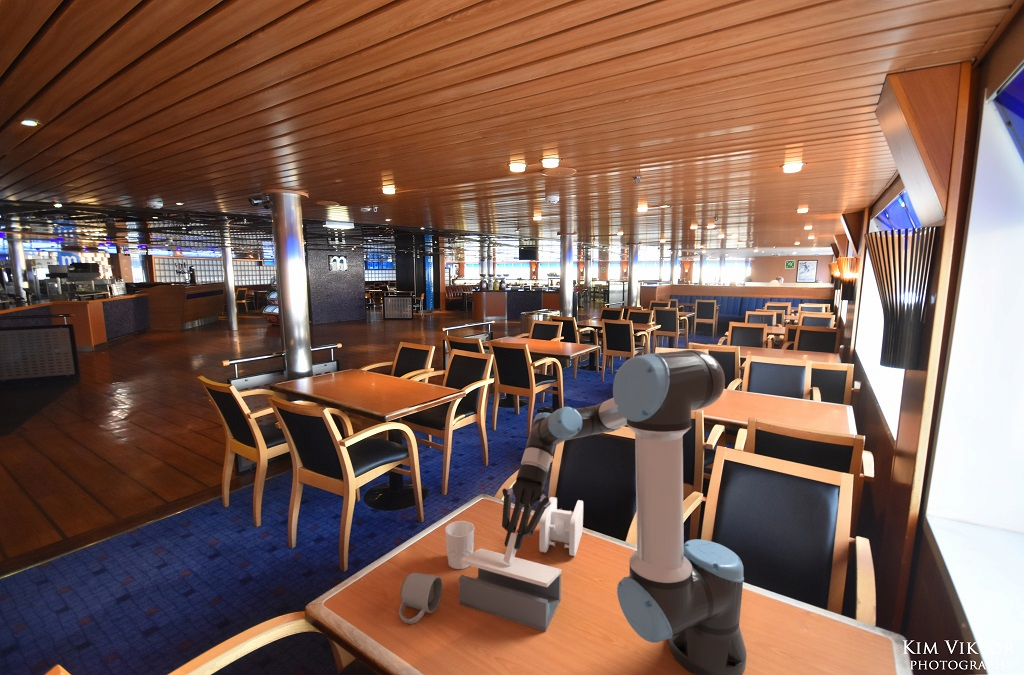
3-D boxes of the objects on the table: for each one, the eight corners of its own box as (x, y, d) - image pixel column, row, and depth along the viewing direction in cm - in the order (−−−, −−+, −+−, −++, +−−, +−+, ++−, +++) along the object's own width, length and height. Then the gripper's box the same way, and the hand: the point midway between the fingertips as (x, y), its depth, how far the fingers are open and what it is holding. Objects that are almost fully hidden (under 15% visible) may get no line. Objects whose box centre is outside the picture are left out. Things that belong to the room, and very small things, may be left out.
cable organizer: (574, 563, 130) (575, 523, 128) (537, 556, 133) (537, 517, 132) (583, 534, 144) (584, 498, 143) (549, 528, 147) (549, 493, 146)
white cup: (470, 572, 126) (469, 537, 125) (442, 569, 127) (441, 534, 126) (477, 555, 134) (477, 522, 132) (450, 552, 135) (450, 519, 134)
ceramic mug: (414, 591, 119) (413, 563, 118) (443, 598, 116) (442, 570, 115) (390, 621, 109) (389, 591, 108) (422, 630, 106) (420, 599, 105)
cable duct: (560, 600, 116) (561, 574, 115) (545, 631, 106) (546, 603, 105) (480, 576, 124) (480, 552, 123) (459, 604, 114) (459, 577, 113)
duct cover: (561, 572, 115) (561, 569, 115) (547, 587, 105) (547, 583, 105) (480, 551, 123) (480, 548, 123) (459, 562, 113) (460, 559, 113)
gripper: (560, 479, 125) (537, 573, 112) (515, 470, 130) (488, 560, 118) (554, 467, 120) (529, 565, 107) (507, 459, 125) (478, 551, 112)
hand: (507, 562), depth 112 cm, fingers closed
